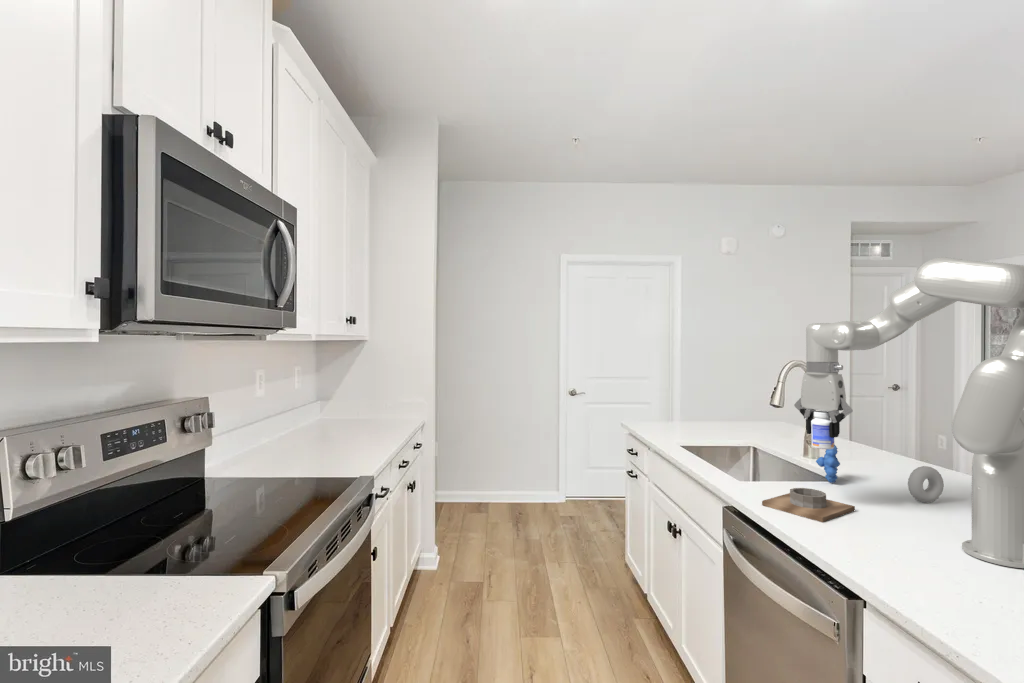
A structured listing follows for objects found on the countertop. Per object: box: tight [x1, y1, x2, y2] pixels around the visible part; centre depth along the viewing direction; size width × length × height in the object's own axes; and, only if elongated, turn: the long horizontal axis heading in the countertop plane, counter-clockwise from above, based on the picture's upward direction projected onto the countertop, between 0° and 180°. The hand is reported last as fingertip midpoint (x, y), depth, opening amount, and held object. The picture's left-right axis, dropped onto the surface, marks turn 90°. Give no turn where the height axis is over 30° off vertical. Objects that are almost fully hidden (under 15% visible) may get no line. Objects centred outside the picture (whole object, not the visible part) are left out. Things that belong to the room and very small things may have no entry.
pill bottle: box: [810, 410, 835, 450], centre depth 144 cm, size 5×5×10 cm
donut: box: [907, 465, 945, 503], centre depth 146 cm, size 10×4×10 cm, turn 99°
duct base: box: [761, 487, 856, 523], centre depth 142 cm, size 16×16×4 cm
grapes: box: [815, 444, 841, 484], centre depth 168 cm, size 12×7×12 cm, turn 147°
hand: (822, 434), depth 144 cm, fingers closed on pill bottle, 5 cm apart
